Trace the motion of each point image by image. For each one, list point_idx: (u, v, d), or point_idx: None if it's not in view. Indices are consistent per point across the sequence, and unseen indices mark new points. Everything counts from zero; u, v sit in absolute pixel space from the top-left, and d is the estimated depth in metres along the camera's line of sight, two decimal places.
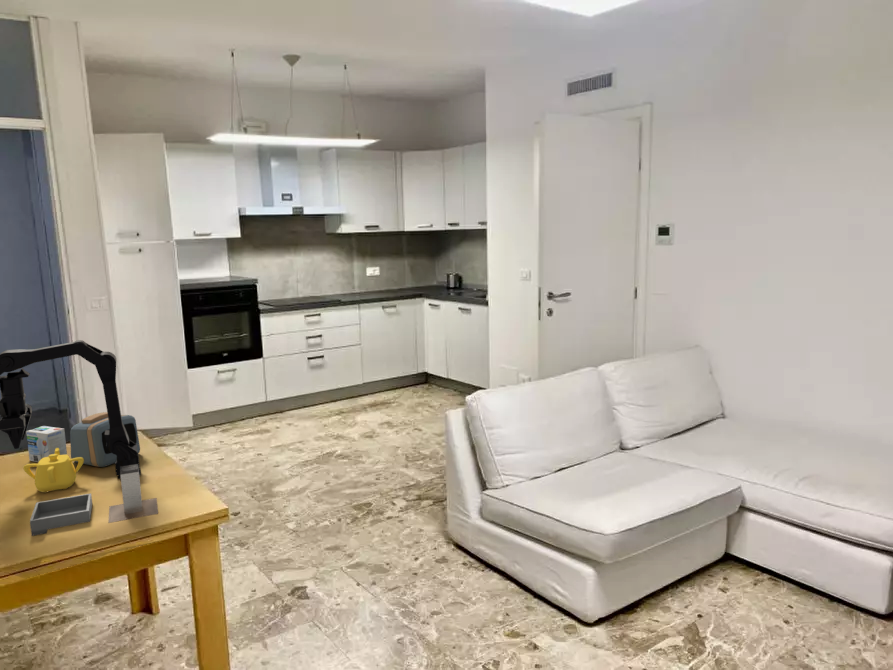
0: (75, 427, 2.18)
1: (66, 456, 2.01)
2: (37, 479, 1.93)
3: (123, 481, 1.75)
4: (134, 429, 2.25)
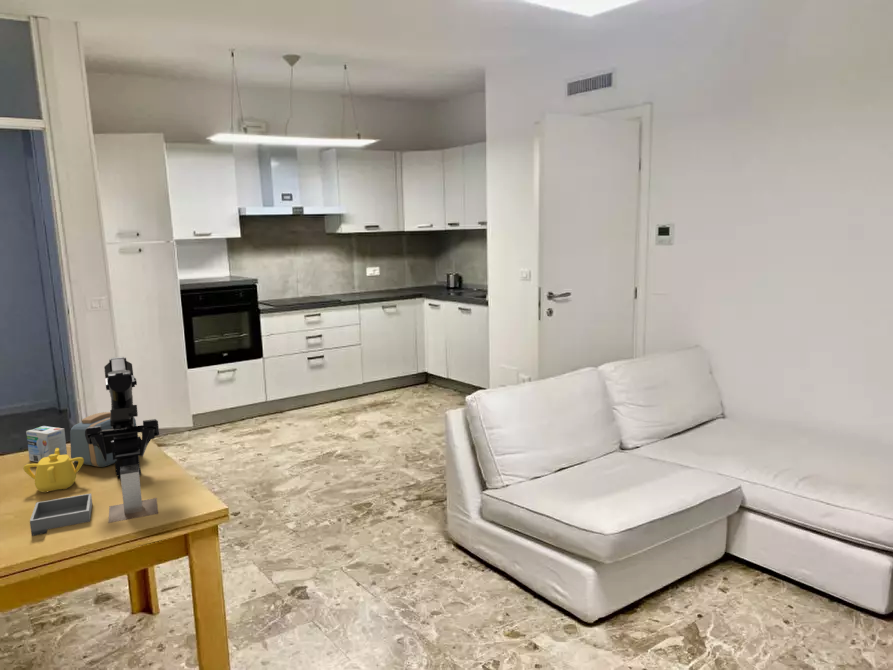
0: (75, 427, 2.18)
1: (66, 456, 2.01)
2: (37, 479, 1.93)
3: (123, 481, 1.75)
4: None
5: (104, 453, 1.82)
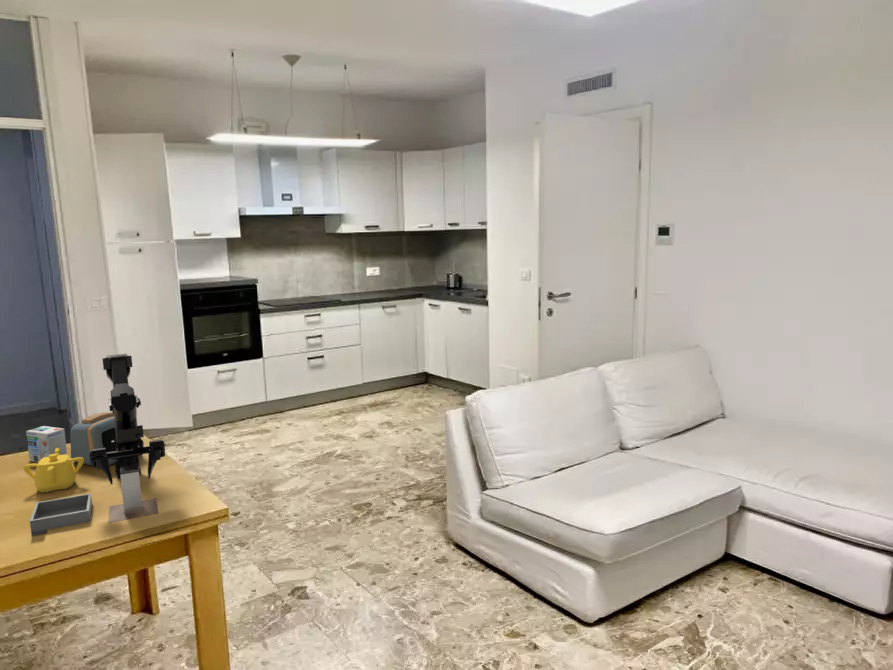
0: (75, 427, 2.18)
1: (66, 456, 2.01)
2: (37, 479, 1.93)
3: (123, 481, 1.75)
4: None
5: (110, 476, 1.76)
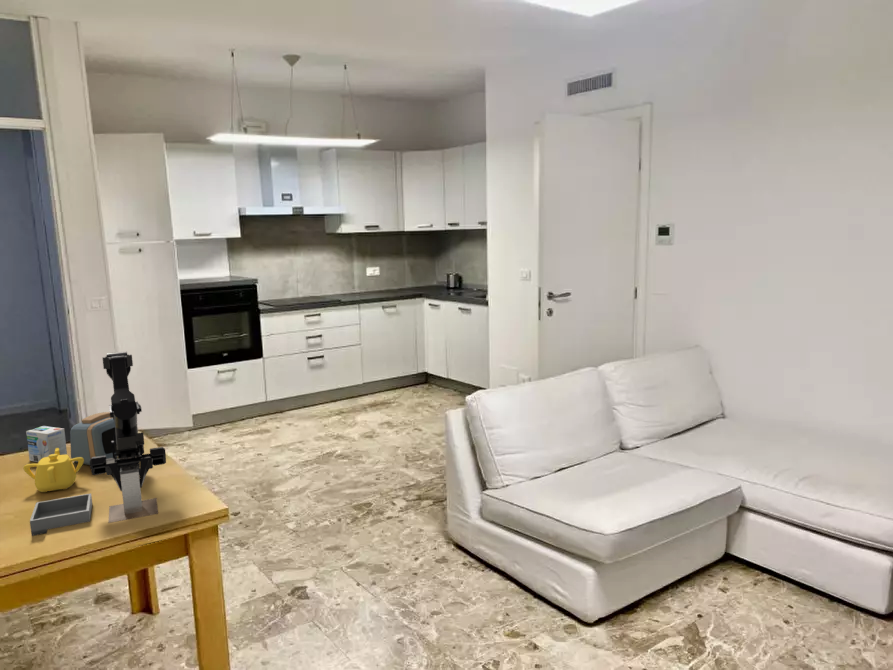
0: (75, 427, 2.18)
1: (66, 456, 2.01)
2: (37, 479, 1.93)
3: (123, 481, 1.75)
4: None
5: (120, 482, 1.76)
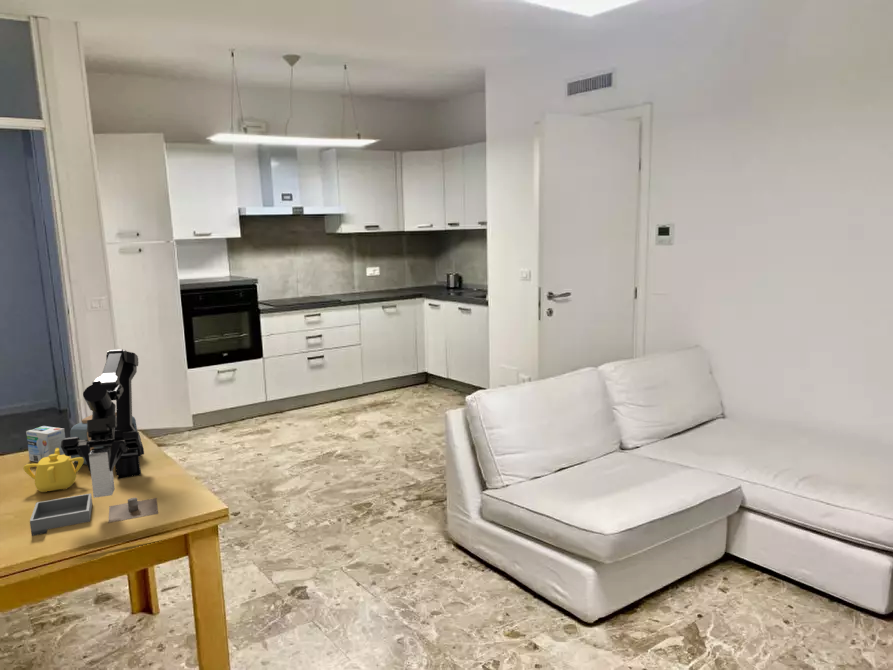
0: (75, 427, 2.18)
1: (66, 456, 2.01)
2: (37, 479, 1.93)
3: (92, 464, 1.71)
4: None
5: (89, 465, 1.73)
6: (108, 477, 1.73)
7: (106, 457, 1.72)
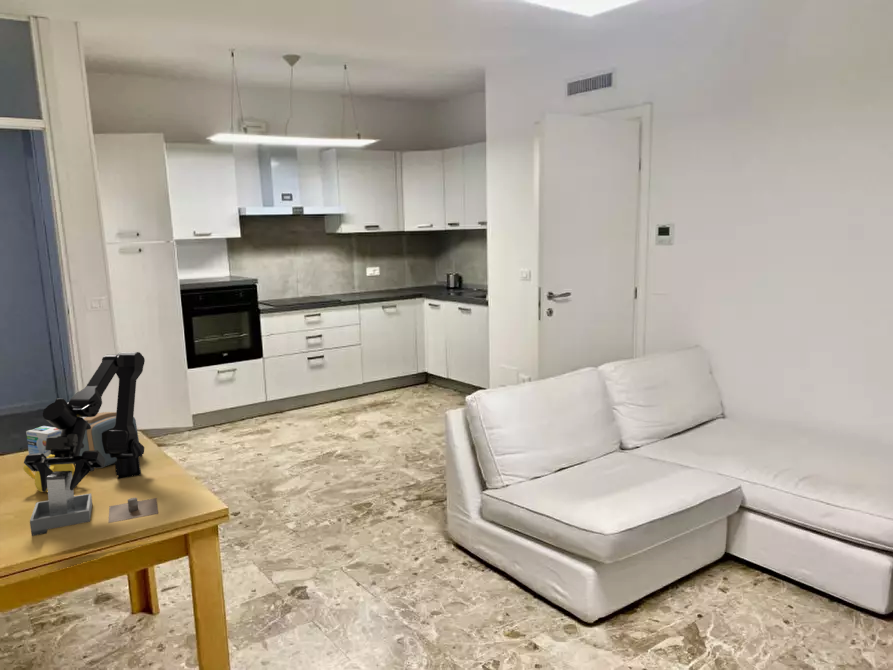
0: None
1: None
2: (37, 479, 1.93)
3: (49, 487, 1.71)
4: None
5: (43, 483, 1.72)
6: (64, 501, 1.72)
7: (63, 481, 1.72)
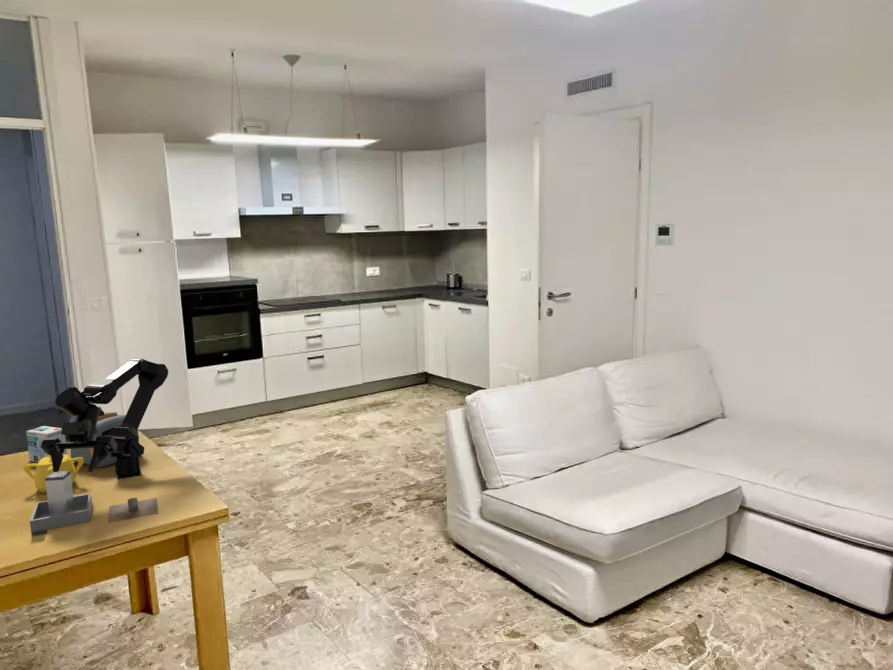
0: None
1: (66, 456, 2.01)
2: (37, 479, 1.93)
3: (48, 488, 1.71)
4: None
5: (54, 466, 1.81)
6: (64, 502, 1.72)
7: (61, 482, 1.71)
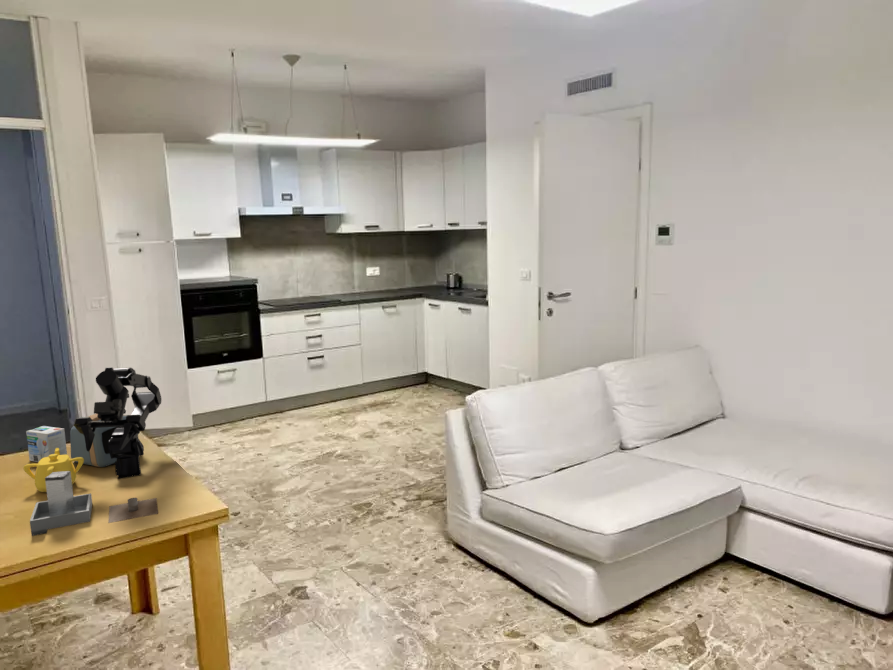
0: None
1: (66, 456, 2.01)
2: (37, 479, 1.93)
3: (48, 488, 1.71)
4: None
5: (87, 443, 1.91)
6: (64, 502, 1.72)
7: (61, 482, 1.71)
